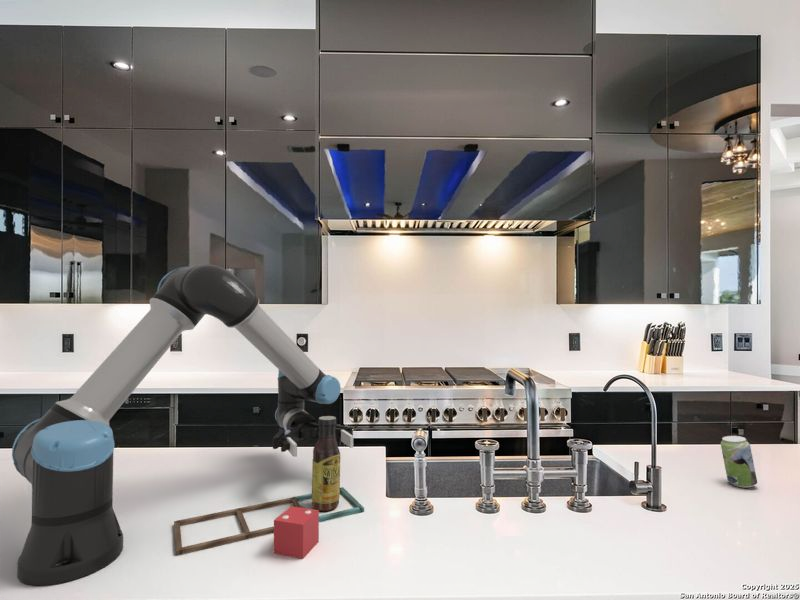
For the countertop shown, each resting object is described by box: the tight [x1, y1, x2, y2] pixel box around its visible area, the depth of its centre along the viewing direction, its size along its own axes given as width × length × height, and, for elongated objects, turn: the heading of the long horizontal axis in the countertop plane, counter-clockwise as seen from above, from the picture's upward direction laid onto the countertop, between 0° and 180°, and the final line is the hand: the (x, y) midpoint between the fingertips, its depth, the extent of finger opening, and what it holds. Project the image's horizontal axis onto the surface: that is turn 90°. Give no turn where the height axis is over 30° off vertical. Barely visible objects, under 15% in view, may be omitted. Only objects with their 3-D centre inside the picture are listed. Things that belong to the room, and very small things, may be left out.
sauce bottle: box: [311, 415, 341, 512], centre depth 101 cm, size 6×6×20 cm
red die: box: [273, 505, 320, 559], centre depth 83 cm, size 6×6×6 cm
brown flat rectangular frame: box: [173, 486, 365, 556], centre depth 95 cm, size 37×13×1 cm, turn 118°
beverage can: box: [720, 435, 758, 489], centre depth 112 cm, size 6×7×12 cm
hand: (324, 446), depth 103 cm, fingers open, 13 cm apart
